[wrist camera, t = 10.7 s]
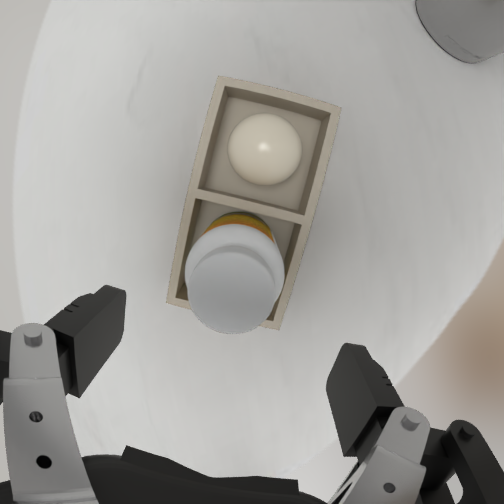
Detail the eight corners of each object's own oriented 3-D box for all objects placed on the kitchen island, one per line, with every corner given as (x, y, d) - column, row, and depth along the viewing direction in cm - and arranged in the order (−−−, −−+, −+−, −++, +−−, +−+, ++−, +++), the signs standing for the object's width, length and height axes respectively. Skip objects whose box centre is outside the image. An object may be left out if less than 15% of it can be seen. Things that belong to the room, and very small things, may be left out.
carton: (223, 89, 21) (218, 75, 17) (329, 117, 21) (341, 107, 18) (177, 286, 24) (166, 303, 21) (275, 310, 25) (278, 330, 21)
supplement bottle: (190, 230, 23) (149, 268, 13) (256, 197, 22) (259, 213, 13) (223, 292, 24) (207, 362, 14) (287, 262, 23) (309, 320, 14)
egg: (239, 113, 21) (235, 96, 16) (303, 129, 21) (316, 117, 16) (222, 176, 22) (214, 175, 17) (287, 192, 22) (296, 196, 17)
